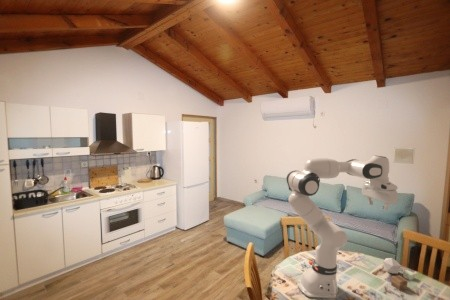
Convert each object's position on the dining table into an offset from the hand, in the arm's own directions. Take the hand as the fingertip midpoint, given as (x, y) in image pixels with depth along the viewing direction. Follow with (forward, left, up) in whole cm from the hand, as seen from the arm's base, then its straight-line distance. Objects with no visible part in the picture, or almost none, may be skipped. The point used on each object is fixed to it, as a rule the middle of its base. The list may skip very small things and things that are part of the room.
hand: (377, 206), depth 129 cm
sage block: (+22, -2, -45) cm, 50 cm away
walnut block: (+9, -8, -45) cm, 46 cm away
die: (+16, +4, -45) cm, 47 cm away
